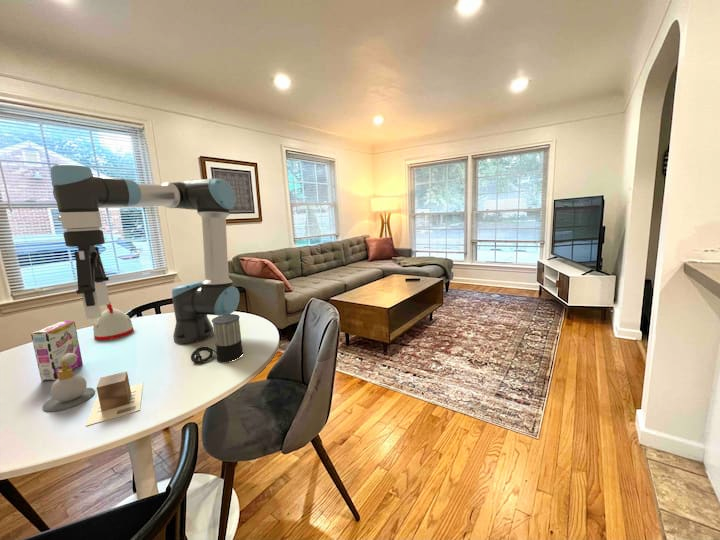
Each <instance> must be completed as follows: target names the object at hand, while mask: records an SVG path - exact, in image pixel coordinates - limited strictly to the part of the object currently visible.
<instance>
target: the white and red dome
mask: <svg viewBox="0 0 720 540" xmlns="http://www.w3.org/2000/svg"><path fill="white" fill-rule="evenodd" d="M106 307H107V308H106V309H105V310H103V311H102V312H101V315H102V317H99V318H96V321H93V328H92V329H93V330H92V331H93V339H94V340H96V341H109V340H115V339H119V338H122V337H125V336H128V335H130V334H131V333H133V332H134V326H133V323H132V319H131V318H130V316H129V315H128V314H126V313H124V312H123V311H122V310H120V309H118V308H114V307H112V303H111V302H110V304H108V305H106Z"/></svg>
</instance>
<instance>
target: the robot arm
mask: <svg viewBox="0 0 720 540" xmlns="http://www.w3.org/2000/svg"><path fill="white" fill-rule="evenodd" d="M50 177H51V186H52V188H53V189H52V195H53V199H54V200H55V201H56V205H57V209H58V214H59V216H57V218H56V219H57V221H60V223H61V227H62V229H63V230H65V231H63V238H64V244H65V246H66V247H69V248H72V247H74V248H75V247H77V250H76V251H74V258H75V265H76V266H75V268H76V280H77V290H75V291H76V294H77V295H81V298H82V303H83V307H84V312H85V317H86V320H92V319H97V318H99V317H102V315H101V313H102V312H101V306H107V305H108V304H110V303H111V301H110V297H109V292H108V291H109V290H108V286H107V282H108V281H109V280H110V279H109V276H107V274H106V271H105V268H104V265H103V262H102V259H101V254H100V248H99V247H98V246H100V245H103V244H105V243H106V241H105V237H104V231H103V230H102V229H100V228H102V227H103V224H102V219H101V213H100V209H99V208H113V207H115V208H117V207H118V208H119V207H163V206H164V207H165V208H168V209H180V210H183V209H184V210H191V211H192V210H193V211H197V215H198V216H200V217H201V220H202V221H201V222H202V223H201V225H202V241H203V242H202V243H203V263H204V279H203V281H192V282H186V283H184V284H179V285H176V286H174V287H173V288H172V290H171V298H172V300H171V301H172V305H173V311H174V312H173V313H174V317H175V327H174V331H173V336H172V337H173V341H174V343H176V344H179V343H182V345H183V343H188V344H193V342H195V343H198V342H197V341H199V342H202V341H205V340H207V339H206V338H208V337H210V336H211V335H212V334H213V333H214V328H213V324H212V322H211V320H210V319H209V318H208V316H209V315H210V316H216V317H218V316H222V315H227V314H234V312H235V311H236V309H237V307H238V306H239V302H240V291H239V289H238V288H237V287H235V286H234V285H233V284H234V283H233V280H232V279H231V278H230V277H229V263H228V262H229V260H228V259H229V258H228V243H227V242H228V241H227V239H228V238H227V217H229V216H230V214H231V213H230V210H232V208H234V207H235V204H236V200H237V198H236V195H235V191H234V188H233V187H232V186H231V184H230V183H229V182H228V181H227V180H226V179H223V178H215V177H214V178H213V177H211V178H204V179H203V178H202V179H191V180H184V181H176V182H169V181H168V182H163V183H162V184H151V183H150V184H148V183H137V182H136V181H135V180H132V179H128V178H127V179H126V178H124V177H121V178H119V177H107V176H97V175H94V174H93V172H92V169H91V168H90V167H89V166H86V165H81V164H69V163H67V164H65V163H64V164H61V163H60V164H54V165H52V166H51V167H50ZM106 281H107V282H106ZM213 335H214V334H213ZM213 335H212V336H213ZM212 336H211V337H212ZM211 337H210V338H211ZM204 339H205V340H204ZM208 339H209V338H208ZM201 340H202V341H201Z"/></svg>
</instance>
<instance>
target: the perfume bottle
mask: <svg viewBox="0 0 720 540" xmlns="http://www.w3.org/2000/svg"><path fill="white" fill-rule="evenodd" d="M76 361H77V355H76V354H74V353H67V354H65V355H64V356H63V357H62V358H61V364H62V365H61V367H62V369H61V370H59V371H58V373H59V378H58V379H57V380H54V382H53V383H52V385H51V388H50V396H51V398H54V399H55V400H57V401H60V402H66V401H71V400H74V399H76V398H78V397H80V396H81V395H82V394H83V393H84V391H85V389H86V388H88V387H87V380H86V378H85V377H84V376H82V375H81V374H79V373H74V370H72V367H66V366H71V365H73V364H74V363H75V362H76Z"/></svg>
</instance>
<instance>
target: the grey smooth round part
mask: <svg viewBox="0 0 720 540" xmlns="http://www.w3.org/2000/svg"><path fill="white" fill-rule="evenodd" d="M95 393H96V392H95V389H94V388H93V387H86V389H85V391H84V393H83V394H82V395H81V396H80V397H78V398H76V399H74V400H71V401H66V402H60V401H57V400H55V399H54V398H53V397H50V399H48V400H47V401H46V402H45V403H43V404H42V411H44V412H46V413H53V412H61V411H65V410H68V409H72V408H74V407H76V406H79V405H82V404H83V403H85V402H86V401H88V400H89V399H91V398H92V397H93V396H94V395H95Z"/></svg>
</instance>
